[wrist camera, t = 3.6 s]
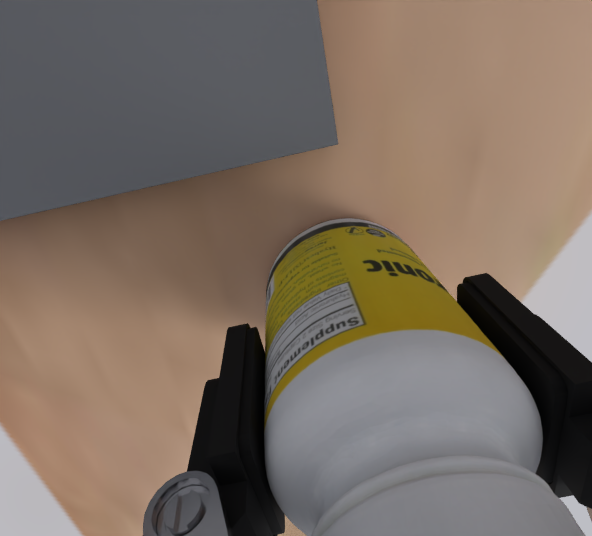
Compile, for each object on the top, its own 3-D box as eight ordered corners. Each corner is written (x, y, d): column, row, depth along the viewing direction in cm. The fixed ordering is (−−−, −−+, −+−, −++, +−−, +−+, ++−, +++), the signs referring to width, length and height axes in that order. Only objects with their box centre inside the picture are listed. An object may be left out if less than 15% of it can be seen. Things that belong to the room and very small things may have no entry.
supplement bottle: (444, 284, 14) (747, 642, 5) (332, 366, 15) (417, 754, 6) (351, 178, 12) (588, 464, 3) (234, 284, 13) (163, 686, 4)
